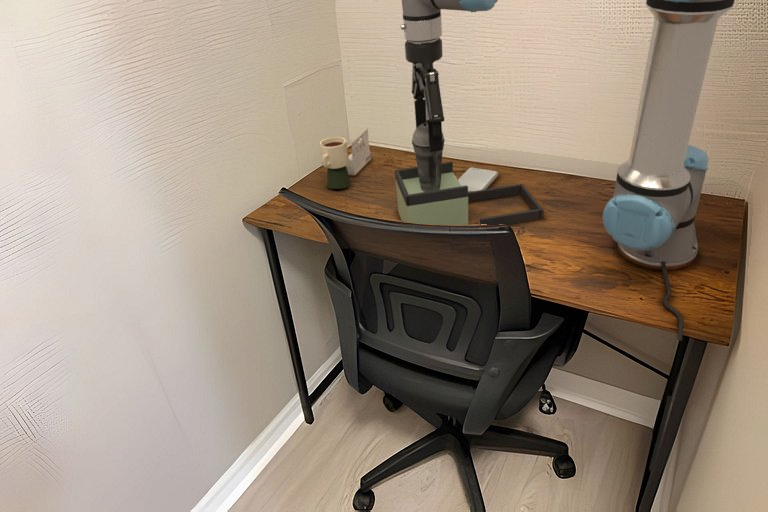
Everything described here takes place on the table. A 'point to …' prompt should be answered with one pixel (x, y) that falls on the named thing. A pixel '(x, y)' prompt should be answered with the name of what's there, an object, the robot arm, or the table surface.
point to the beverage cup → (427, 159)
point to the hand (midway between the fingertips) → (428, 139)
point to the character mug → (335, 161)
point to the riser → (454, 200)
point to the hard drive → (477, 179)
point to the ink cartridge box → (359, 154)
